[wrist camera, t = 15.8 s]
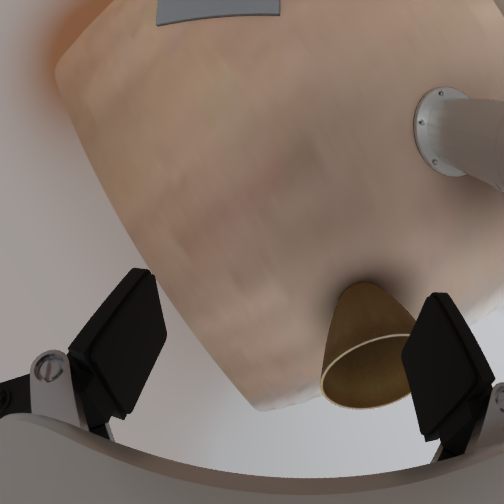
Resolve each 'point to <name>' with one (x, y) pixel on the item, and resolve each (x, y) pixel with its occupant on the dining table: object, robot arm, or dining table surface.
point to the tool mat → (212, 9)
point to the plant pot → (366, 349)
